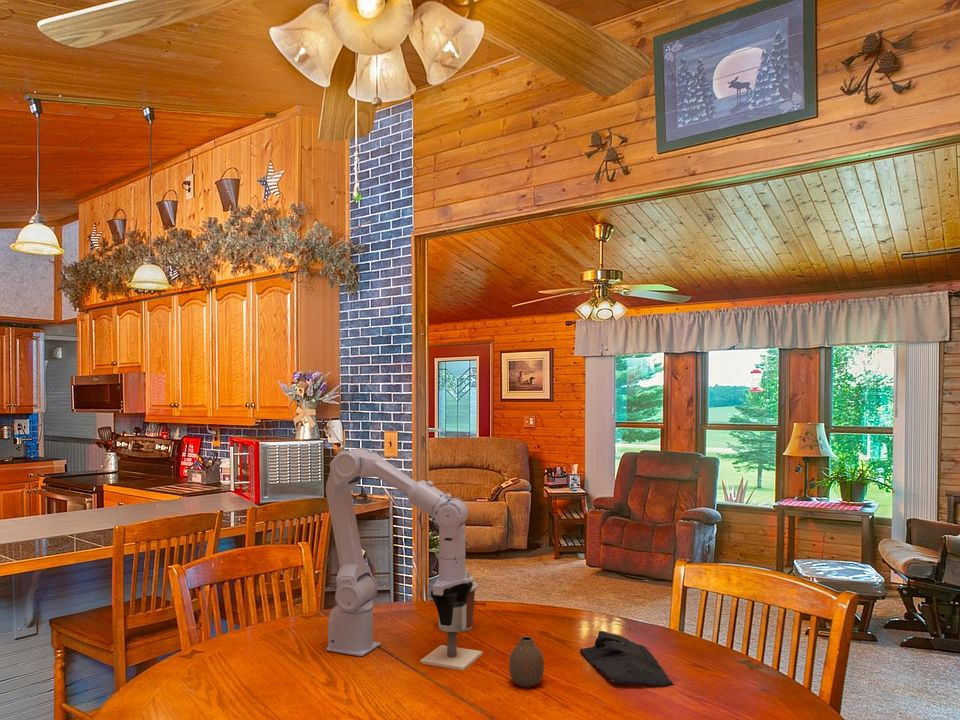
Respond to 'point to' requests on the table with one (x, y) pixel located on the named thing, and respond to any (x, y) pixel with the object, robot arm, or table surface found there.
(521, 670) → the vase
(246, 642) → the table surface
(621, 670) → the crumpled black cloth
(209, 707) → the table surface
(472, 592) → the coffee cup
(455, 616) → the collar
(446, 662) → the post stand
